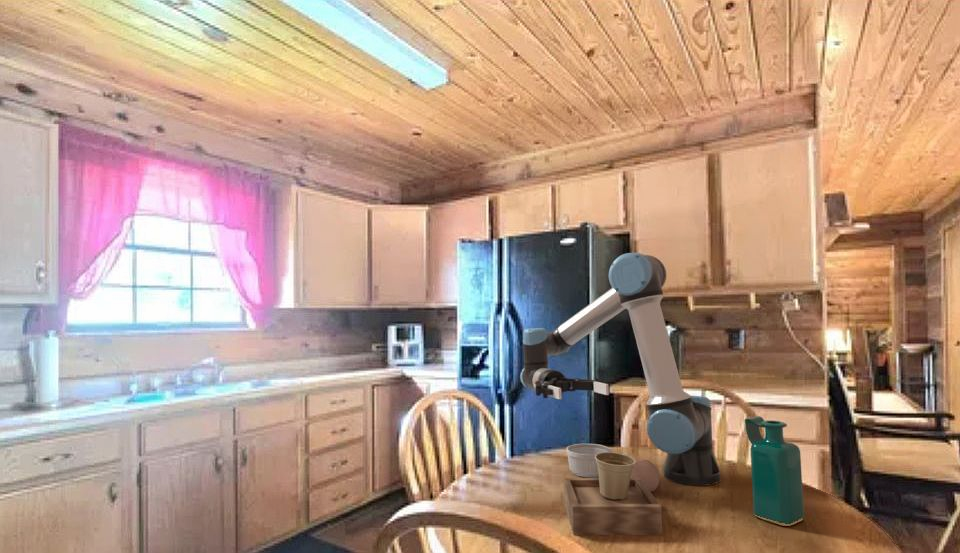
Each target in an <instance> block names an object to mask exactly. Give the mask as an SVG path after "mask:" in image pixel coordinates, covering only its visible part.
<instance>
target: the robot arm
mask: <svg viewBox="0 0 960 553" xmlns="http://www.w3.org/2000/svg"><path fill="white" fill-rule="evenodd" d="M608 280H609V281H608V282H609V284H610V286H611V288H610V289H608V290H607V291H605V292H604V293H603V294H602V295H600V296H599V297H597V298H596V299H595V300H593V301H592V302H591V303H589V304H587V305H586V306H585V307H584V308H582V309H581V310H580V311H578V312H577V313H576V314H574V315H572V316H571V317H570V318H568V319H567V320H566V321H564V322H563V323H561V324H560V325H559V326H557V327H555V329H553V330H552V331H551V332H547V330H546V328H544V327H543V328H542V327H541V328H537V327H534V328H525V329H524V330H523V332H522V334H523V335H522V337H523V338H522V344H523V346H522V347H523V368H522V369H521V371H520V376H519V378H520V383H522V385H523V386H524V387H525V388H527V389H528V390H531V391H534V392H535V396H537V397H539V396H541V395H542V398H543V399H548V398H549V397H550V398H553V399H557V400H562V399H563V398H562V394H563V393H565V392H576V391H592V392H593V393H597V394H601V395H605V396H609V395H610V392H609V390H610V389H609V383H605V382H604V380H602V379H601V380H599V378H595V379H584V378H578V377H576V378H568V377H566V376H565V375H564V374H563V373H562V372H561V371H559V370H556V369H551V368H549V357H551V356H553V357H554V356H562V355H563V354H565V353H567V352H569V350H570V348H571V347H572V346H574V345H575V344H576V343H577V342H579V341H580V340H582V339H583V338H585V337H586V336H587V335H589V334H591V333H592V332H593V331H595V330H597V329H598V328H599V327H601V326H602V325H604V324H606V323H607V322H608V321H610V320H611V319H613V318H614V317H615V316H617V315H619V314H620V313H621V312H622V311H624V310H627V311H628V315H629V319H630V323H631V326H632V331H633V334H634V338H635V340H636V341H635V342H636V345H637V349H638V353H639V357H640V361H641V366H642V369H643V373H644V378H645V381H646V384H647V389H648V392H649V397H648V400H647V401H646V403H645V404H646V408H647V412H648V416H649V418H648V420H647V424H646V432H647V436H648V438H649V440H650V442H651V444H653V445H654V446H655V448H657V449H658V450H661V451H662V452H663V453H665V454H666V458H665V460H664V461H665V462H664V464H663V476H664V478H666V479H667V480H668V481H671V482H674V483H677V484H684V485H688V484H689V486H707V485H706V484H712V485H714V484H713V483H716V482H718V483H720V482H721V481H722V476H721V475H722V474H721V470H720V467H719V464H718V462H717V458H716V457H715V454H714V451H713V450H714V449H713V448H714V446H713V427H712V426H713V425H712V424H713V423H712V405H711V400H710V398H709V397H707V396H702V395H690V394H689V393H688V392H686V391H685V390H684V389H683V385H682V382H681V378H680V375H679V371H678V367H677V363H676V359H675V355H674V352H673V347H672V344H671V341H670V340H671V339H670V338H669V333H668V329H667V326H666V321H665V318H664V314H663V311H662V307H661V301H662V300H663V298H664V296H665V295H664V292H663V289H662V288H663V287H664V285H665V283H666V281H667V270H666V267H665V265H664V264H663V262H662V261H661V260H660V259H658V257H655V256H654V255H653V256H652V255H648V254H643V253H640V252H628V253H627V252H626V253H623V254H620V255H619V256H618V257H617V258H615V259H614V261H613V262H612V263H611V265H610V267H609V270H608ZM720 480H721V481H720ZM719 481H720V482H719ZM716 484H717V483H716Z"/></svg>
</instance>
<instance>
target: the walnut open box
mask: <svg viewBox="0 0 960 553" xmlns="http://www.w3.org/2000/svg"><path fill="white" fill-rule="evenodd" d="M562 479H563V481H562V482H563V504H564V507H565V510H566V514H567V518H568V521H569V525H570V528H571V532H572V535H573V536H575V535H576V536H581V535H583V536H587V535H589V536H591V535H592V536H594V535H595V536H599V535H601V536H602V535H603V536H607V535H608V536H615V535H616V536H622V535H623V536H627V535H628V536H640V535H641V536H645V535H646V536H652V535H653V536H657V535H658V536H660V535H661V536H663V522H662V521H663V520H662V518H663V516H662V505H661V504H660V503H659V502H658V500H657V499H656V498H655V496H654V495H653V493H652V492H650V491H649V490H648V488H647V487H646V486H645V485H644V483H643V482H642V481H641V479H640V478H630V483H629V488H628V494H627V498H625V499H622V500H621V499H616V500H613V499H609V498H606V497H604V496H603V495H602V494H601V493H600V484H599V478H586V477H574V478H573V477H571V478H570V477H567V478H565V477H564V478H562Z"/></svg>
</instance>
